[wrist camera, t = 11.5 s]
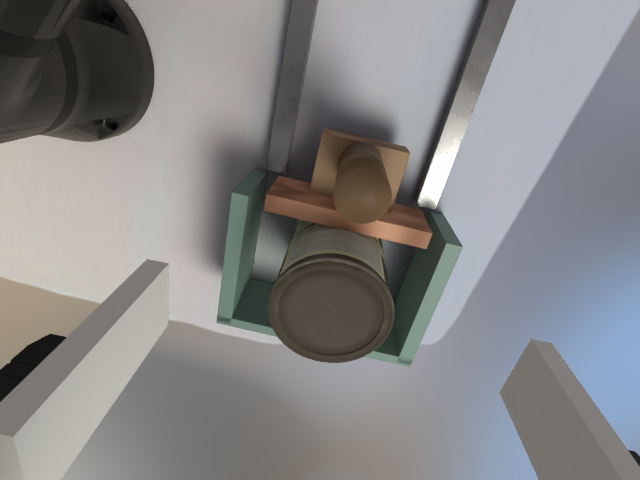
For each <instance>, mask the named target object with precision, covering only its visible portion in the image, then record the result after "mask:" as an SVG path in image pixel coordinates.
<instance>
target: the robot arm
mask: <svg viewBox="0 0 640 480" xmlns="http://www.w3.org/2000/svg"><path fill="white" fill-rule="evenodd" d="M153 87H154V65H153V59H152V54H151V50H150V47H149V43H148V41H147V38H146V35H145V33H144V31H143V29H142V27H141V25H140V23H139V21H138V19H137V18H136V16H135V15H134V13H133V12H132V10H131V9H130V8H129V6H128V5H127V4H126V3H125V1H124V0H0V144H1V143H5V142H9V141H14V140H18V139H22V138H27V137H31V136H35V135H46V136H51V137H57V138H62V139H68V140H73V141H82V142H91V141H100V140H104V139H108V138H111V137H114V136H118V135H120V134H123V133H125V132H126V131H128V130H130V129H131V128H132V127H134V126H135V125H136V124H137V123H138V122H139V121H140V119H141V118H142V117H143V115H144V114H145V112H146V110H147V108H148V106H149V103H150V101H151V97H152V93H153ZM168 292H169V264H168V263H163V262H158V261H154V260H149V259H147V260H146V261H145V262H144V263H143V264H142V265H141V266H140V267H139V268H138V269H137V270H136V271H135V272H134V273H133V274H132V275H131V276H130V277H128V278H127V279H126V280H125V281H124V282H123V283H122V284H121V285H120V286H119V287H118V288H117V289H116V290H115V291H114V292H113V293H112V294H111V295H110V296H109V297H108V298H107V299H106V300H105V301H104V302H103V303H102V304H101V305H100V306H99V307H98V308H97V309H96V310H95V311H94V312H93V313H92V314H90V315H89V316H88V318H86V319H85V320H84V321H83V322H82V323H81V324H80V325H79V326H78V327H77V328H76V329H75V330H74V331H73V332H72V333H71V334H70V335H69V336H68V337H63V336H58V335H53V334H49V335H47V336H45V337H43V338H41V339H39V340H38V341H35V342H34V343H32V344H30V345H28V346H27V347H26V348H25V349H23V350H22V351H21V352H20V353H19V354H18V355H16V356H15V357H14V358H13V359H12V360H11V362H10V363H9V364H7V365H5V366H4V367H3V368H2V369H1V370H0V480H61V478H62V477H63V475H64V474H65V472H66V471H67V469H68V468H69V467H70V465H71V464H72V462H73V461H74V459H75V458H76V456H77V455H78V454H79V452H80V451H81V449H82V447H83V446H84V445H85V443H86V442H87V441H88V439H89V438H90V436H91V435H92V433H93V432H94V431H95V429H96V428H97V426H98V425H99V423H100V422H101V420H102V419H103V418H104V416H105V415H106V413H107V412H108V410H109V409H110V407H111V406H112V405H113V403H114V402H115V400H116V399H117V397H118V396H119V394H120V393H121V392H122V390H123V389H124V387H125V386H126V384H127V383H128V382H129V380H130V379H131V377H132V376H133V374H134V373H135V371H136V370H137V369H138V367H139V366H140V364H141V363H142V361H143V360H144V359H145V357H146V356H147V354H148V352H149V351H150V350H151V348H152V347H153V345H154V344H155V343H156V341H157V340H158V338H159V337H160V335H161V334H162V332H163V331H164V330H165V328H166V327H167V325H168ZM500 394H501V397H502V399H503V401H504V403H505V406H506V408H507V410H508V412H509V415H510V417H511V419H512V421H513V423H514V426H515V428H516V430H517V432H518V435H519V437H520V439H521V441H522V443H523V446H524V448H525V450H526V452H527V455H528V457H529V459H530V461H531V464H532V466H533V468H534V470H535V472H536V475H537V477H538V479H539V480H640V456H639V455H638V454H637V453H636V452H634V451H629V450H628V449H627V448H626V447H625V446H624V444H623V442H622V441H621V440H620V438H619V437H618V435H617V434H616V433H615V431H614V430H613V428H612V427H611V426H610V424H609V423H608V421H607V420H606V419H605V418H604V416H603V415H602V413H601V412H600V410H599V409H598V407H597V406H596V405H595V403H594V402H593V400H592V399H591V398H590V396H589V395H588V394H587V392H586V390H585V389H584V388H583V386H582V385H581V383H580V382H579V381H578V379H577V378H576V376H575V375H574V374H573V372H572V371H571V369H570V368H569V367H568V365H567V364H566V363H565V361H564V360H563V358H562V357H561V355H560V354H559V353H558V351H557V350H556V349H555V347H554V346H553V344H552V343H548V342H543V341H538V340H534V339H531V340H530V342H529V343H528V345H527V347H526V349H525V350H524V352H523V353H522V355H521V357H520V359H519V360H518V362H517V364H516V366H515V367H514V369H513V370H512V372H511V374H510V376H509V377H508V379H507V381H506V382H505V384H504V386H503V387H502V389H501V391H500Z"/></svg>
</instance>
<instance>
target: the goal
mask: <svg viewBox="0 0 640 480" xmlns="http://www.w3.org/2000/svg"><path fill="white" fill-rule="evenodd" d="M267 174H268V172H264V171H260V170H256V169H254V170H253V171H252V172H251V173H250V174H249V175H248V176H247V177H246V178H245V179H244V180H243V181H242V182H241V183H240V184H239V186H238V187H237V188H236V189H235V190H234V191H233V192H232V196H231V204H230V213H229V221H228V230H227V238H226V247H225V255H224V264H223V272H222V281H221V289H220V298H219V306H218V315H217V323H220V324H224V325H228V326H233V327H237V328H241V329H246V330H250V331H255V332H259V333H263V334H268V335H272V336H276V337H277V335H276V334H275V332H274V331H273V329H272V327H271V324H270V321H269V318H268V299H269V295H270V292H271V289H272V287H273V285H274V284H273V283H268V282H264V281H260V280H255V279H251V274H252V268H253V262H254V256H255V249H256V243H257V237H258V230H259V224H260V218H261V212H262V205H263V199H264V193H265V187H266V180H267ZM426 221H427V223H428V225H429V227H430V229H431V231H432V233H433V234H432V236H431V239H430V241H429V244H428V246H427V249H423V248H419V247H416V249H415V251H414V254H413V257H412V259H411V262H410V265H409V267H408V270H407V273H406V275H405V278H404V281H403V283H402V286H401V288H400V291H399V294H398V296H397V299H396V302H395V304H394V309H395V315H394V323H393V326H392V329H391V331H390V333H389V335H388V336H387V338H386V339H385V341H384V342H383V343H382V344H381V345H380V346H379V347H378V348H377V349H375V350H374V351H373V352H371V353H370V354H367V355H366V356H364V357H368V358H372V359H377V360H381V361H386V362H390V363H394V364H399V365H403V366H407V367H410V365H411V363H412V361H413V359H414V356H415V354H416V352H417V350H418V347H419V345H420V343H421V341H422V338H423V336H424V334H425V331H426V329H427V327H428V325H429V322H430V320H431V318H432V316H433V313H434V311H435V309H436V307H437V304H438V302H439V300H440V298H441V295H442V293H443V291H444V289H445V286H446V284H447V282H448V280H449V277H450V275H451V273H452V271H453V268H454V266H455V264H456V262H457V259H458V257H459V255H460V253H461V250H462V248H463V246H462V245H461V243H460V241H459V240H458V238H457V236H456V235H455V233H454V231H453V230H452V228H451V226H450V225H449V223H448V221H447V220H446V218H445V216H444V215H443V214H440V213H436V212H432V211H430V212H429V215H428V217H427V220H426Z"/></svg>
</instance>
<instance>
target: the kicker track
mask: <svg viewBox="0 0 640 480" xmlns="http://www.w3.org/2000/svg"><path fill="white" fill-rule="evenodd" d="M515 1H516V0H485V2H484V5H483V7H482V10H481V13H480V16H479V19H478V22H477V24H476V27H475V30H474V33H473V36H472V39H471V41H470V44H469V47H468V50H467V53H466V56H465V58H464V61H463V64H462V67H461V70H460V72H459V75H458V78H457V81H456V84H455V87H454V89H453V92H452V95H451V98H450V101H449V104H448V106H447V109H446V112H445V115H444V118H443V121H442V123H441V126H440V129H439V132H438V135H437V137H436V140H435V143H434V146H433V149H432V152H431V154H430V157H429V160H428V163H427V166H426V169H425V171H424V174H423V177H422V180H421V183H420V186H419V188H418V191H417V194H416V197H415V200H414V201H415V203H416V205H418V206H422V207H426V208H430V209H435V208H436V206H437V203H438V201H439V198H440V195H441V193H442V190H443V188H444V185H445V182H446V180H447V177H448V175H449V172H450V169H451V167H452V164H453V162H454V159H455V156H456V154H457V151H458V149H459V146H460V143H461V141H462V138H463V136H464V133H465V130H466V128H467V125H468V123H469V120H470V118H471V115H472V112H473V110H474V107H475V105H476V102H477V99H478V97H479V94H480V92H481V89H482V86H483V84H484V81H485V79H486V76H487V73H488V71H489V68H490V66H491V63H492V60H493V58H494V55H495V53H496V50H497V47H498V45H499V42H500V40H501V37H502V34H503V32H504V29H505V27H506V24H507V21H508V19H509V16H510V14H511V11H512V8H513V6H514V3H515ZM317 4H318V0H292V5H291V12H290V18H289V24H288V31H287V37H286V44H285V50H284V56H283V63H282V69H281V75H280V82H279V88H278V95H277V101H276V107H275V114H274V120H273V127H272V133H271V139H270V146H269V152H268V159H267V165H266V169H267V170H271V171H275V172H279V173H284V174H285V173H286V171H287V168H288V163H289V157H290V152H291V146H292V141H293V135H294V130H295V124H296V119H297V114H298V108H299V103H300V97H301V92H302V86H303V81H304V75H305V70H306V64H307V59H308V53H309V48H310V43H311V37H312V32H313V26H314V21H315V15H316V10H317Z"/></svg>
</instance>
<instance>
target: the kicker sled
mask: <svg viewBox="0 0 640 480" xmlns="http://www.w3.org/2000/svg"><path fill="white" fill-rule="evenodd" d="M409 156H410V153H409V151H408V149H407V148H406V147H404V146H400V145H396V144H392V143H388V142H384V141H380V140H375V139H371V138H367V137H363V136H359V135H355V134H351V133H346V132H342V131H338V130H334V129H330V128H326V127H324V130H323V132H322V135H321V140H320V145H319V149H318V154H317V158H316V163H315V168H314V172H313V177H312V182H311V183H308V182H304V181H300V180H296V179H291V178H287V177H283V176H278V178H277V179H276V181H275V182H274V183H273V185H272V186H271V188H270V189H269V191H268V192H267V194H266V199H265V205H264V211H267V212H271V213H275V214H279V215H284V216H288V217H292V218H296V219H300V220H305V221H309V222H313V223H317V224H322V225H326V226H330V227H334V228H339V229H343V230H347V231H351V232H356V233H360V234H364V235H368V236H373V237H377V238H381V239H385V240H389V241H394V242H398V243H402V244H406V245H411V246H415V247H419V248H423V249H427V246H428V244H429V241H430V239H431V236H432V234H433V233H432V231H431V229H430V227H429V225H428V223H427V221H426V218H425V216H424V214H423V212H422V210H421V209H417V208H413V207H409V206H405V205H401V204H396V203H394V201H395V198H396V195H397V192H398V189H399V186H400V183H401V180H402V177H403V174H404V171H405V168H406V165H407V162H408V159H409Z"/></svg>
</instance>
